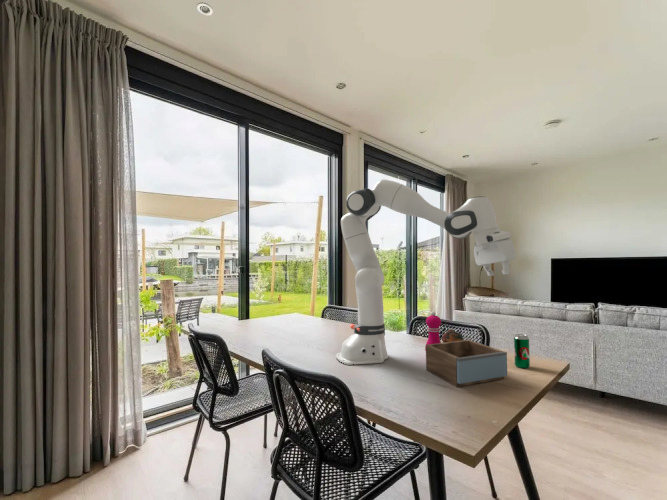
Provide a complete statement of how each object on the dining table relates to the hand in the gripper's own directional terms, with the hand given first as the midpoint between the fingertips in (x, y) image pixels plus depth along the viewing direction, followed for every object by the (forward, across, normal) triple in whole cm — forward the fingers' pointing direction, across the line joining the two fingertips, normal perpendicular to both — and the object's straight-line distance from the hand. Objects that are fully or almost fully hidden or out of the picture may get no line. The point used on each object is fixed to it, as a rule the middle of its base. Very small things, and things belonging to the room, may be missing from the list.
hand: (498, 275), depth 118 cm
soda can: (+37, -10, +6) cm, 38 cm away
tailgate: (+32, +3, -18) cm, 37 cm away
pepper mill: (+30, -22, -23) cm, 44 cm away
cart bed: (+32, -6, -20) cm, 38 cm away
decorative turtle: (+31, -37, -8) cm, 49 cm away
